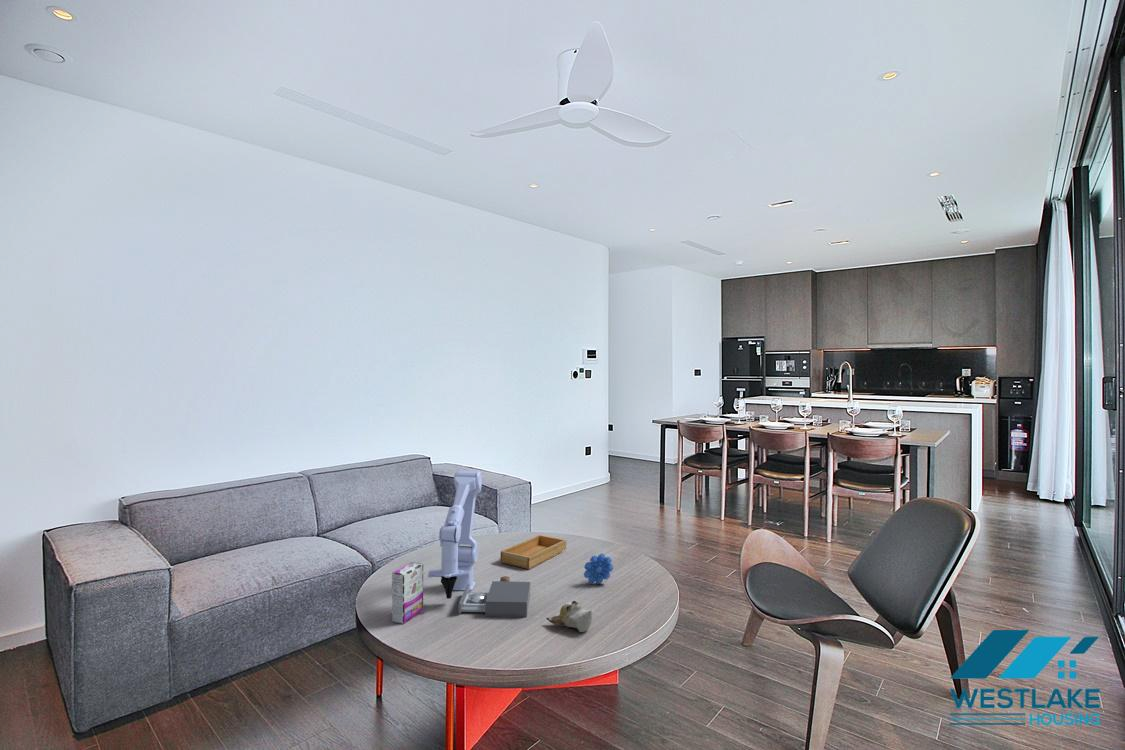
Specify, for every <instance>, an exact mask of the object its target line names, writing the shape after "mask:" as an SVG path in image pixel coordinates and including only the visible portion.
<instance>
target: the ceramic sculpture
mask: <svg viewBox="0 0 1125 750" xmlns="http://www.w3.org/2000/svg"><path fill="white" fill-rule="evenodd" d="M545 618H546V620H547V621H548V622H550V623H551V624H553V625H554V626H564V627H568V628H575V629H577V631H578V632H580V633H585V632H587V631H588V630H589V629H590V627H591V625H592V621H593V611H592V610H591V609H588V610H587V609H583V607H581V604H580V603H579V602H577V601H575V600H572V601H571V602H567V603H565V604H563V605H562V607H560V611H559V614H558V615H553V616H552V617H545Z"/></svg>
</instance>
